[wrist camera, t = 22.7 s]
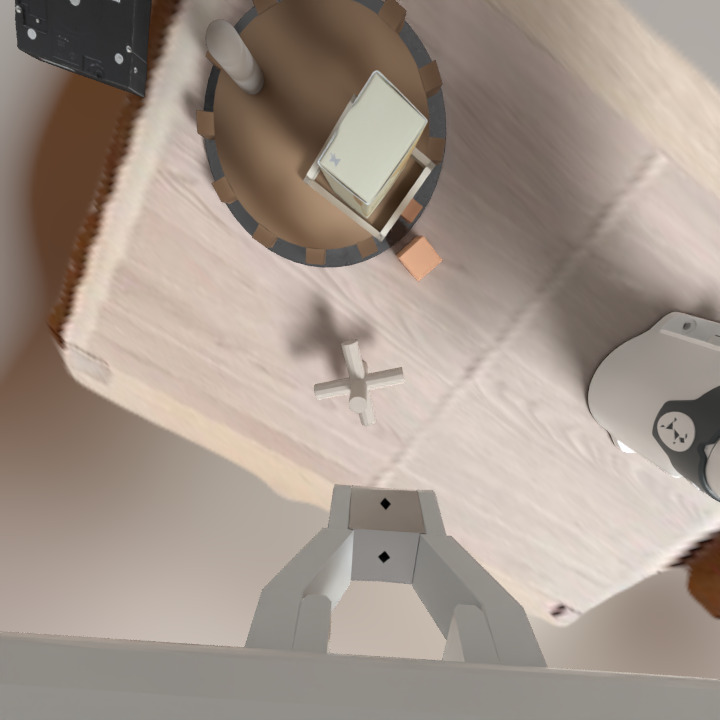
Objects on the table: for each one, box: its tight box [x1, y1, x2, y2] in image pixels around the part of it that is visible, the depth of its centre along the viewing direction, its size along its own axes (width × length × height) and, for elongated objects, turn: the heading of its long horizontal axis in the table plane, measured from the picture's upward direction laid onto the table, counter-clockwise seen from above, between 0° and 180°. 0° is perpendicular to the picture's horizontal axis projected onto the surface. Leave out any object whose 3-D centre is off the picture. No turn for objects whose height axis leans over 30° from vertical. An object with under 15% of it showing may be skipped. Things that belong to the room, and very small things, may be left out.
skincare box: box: [317, 70, 428, 219], centre depth 26 cm, size 6×4×12 cm
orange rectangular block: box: [396, 236, 443, 281], centre depth 35 cm, size 3×3×5 cm
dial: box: [196, 0, 446, 265], centre depth 29 cm, size 23×23×8 cm
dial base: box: [204, 0, 446, 267], centre depth 33 cm, size 24×24×1 cm
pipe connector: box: [314, 339, 405, 426], centre depth 37 cm, size 10×10×10 cm
